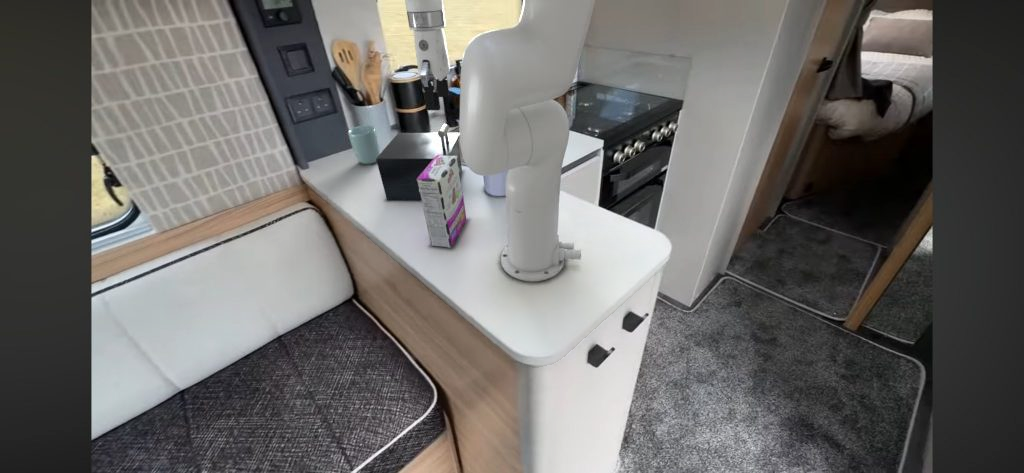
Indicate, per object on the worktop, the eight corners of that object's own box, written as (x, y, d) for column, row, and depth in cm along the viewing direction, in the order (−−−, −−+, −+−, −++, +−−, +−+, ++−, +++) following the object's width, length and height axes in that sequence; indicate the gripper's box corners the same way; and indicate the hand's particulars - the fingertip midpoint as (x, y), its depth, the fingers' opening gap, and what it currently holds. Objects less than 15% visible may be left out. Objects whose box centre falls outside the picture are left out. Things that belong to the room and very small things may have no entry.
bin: (462, 171, 108) (457, 135, 102) (450, 201, 95) (444, 162, 89) (406, 171, 110) (398, 135, 103) (387, 200, 97) (376, 161, 90)
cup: (357, 158, 118) (348, 127, 112) (382, 154, 120) (374, 123, 114) (356, 168, 112) (347, 136, 106) (383, 164, 114) (375, 132, 108)
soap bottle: (479, 196, 96) (470, 102, 82) (489, 179, 104) (483, 90, 90) (512, 199, 95) (508, 104, 81) (520, 182, 102) (518, 92, 88)
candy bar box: (447, 218, 89) (436, 153, 79) (467, 220, 88) (458, 154, 78) (429, 246, 80) (415, 178, 70) (451, 249, 79) (440, 179, 69)
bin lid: (460, 135, 102) (458, 115, 99) (447, 161, 89) (444, 140, 85) (398, 135, 103) (394, 116, 100) (376, 161, 90) (370, 140, 87)
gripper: (434, 26, 71) (446, 115, 82) (452, 14, 85) (460, 92, 95) (395, 27, 72) (412, 115, 82) (420, 15, 86) (431, 92, 96)
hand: (438, 103), depth 89 cm, fingers open, 9 cm apart
